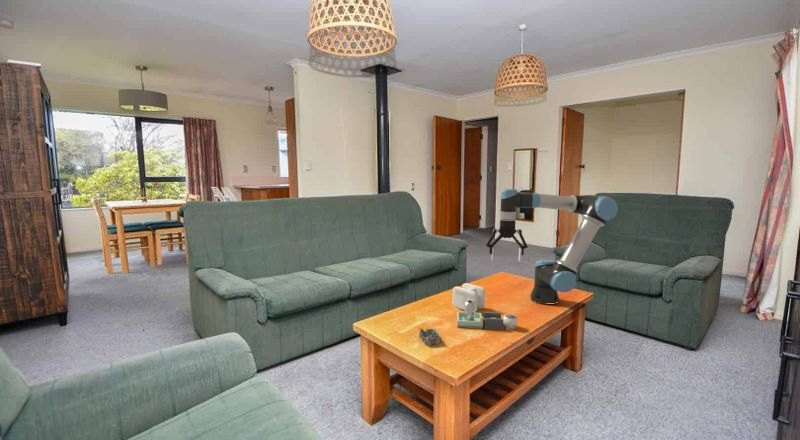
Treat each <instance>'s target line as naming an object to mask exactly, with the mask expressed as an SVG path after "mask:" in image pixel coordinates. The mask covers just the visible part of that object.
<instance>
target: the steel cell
mask: <svg viewBox="0 0 800 440" xmlns="http://www.w3.org/2000/svg"><path fill="white" fill-rule="evenodd" d="M474 311H475V302H474V301H471V300H468V301H465V310H464V312H465V318H464V321H474V313H475V312H474Z"/></svg>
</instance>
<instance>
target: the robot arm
mask: <svg viewBox="0 0 800 440" xmlns="http://www.w3.org/2000/svg"><path fill="white" fill-rule="evenodd" d="M522 208H523V209H536V208H541V209H550V210H558V211H559V210H560V211H567V212H568V213H572V214H577V215H581V219H582V220H581V223H579V225H578V227H577V229H576V231H575V233H574V235H573V236H572V238H571V240H570V241H569V243H568V245H567V247H566V248H565V250H564V253H563V254H562V255H561V258H559V259H558V260H554V259H553V260H552V259H551V260H550V259H538V260H536V261H535V265H534V281H533V282H534V283H533V284H534V285H533V288H532V290H531V293H530V297H529V299H530V298H531V299H530V300H531V301H532V300H533V301H536V302H540V303H556V302H558V301H559V302H560V296H559V293H563V294H564V293H568V292H570V291H573V289H574V288H575V286H576V285H577V274H578V270H577V268H578V266H579V264H580V262H581V260H582V259H583V258H584V255H585V253H586V252H587V250H588V248H589V246H590V244H591V243H592V241H593V239H594V238H595V236H596V234H597V232H598V230H599V229H600V228H601V227H605V225H606V224H607V222H608V221H611V220H613V219H614V218H616V216H617V214H618V210H619V208H618V205H617V202H616V201H615V199H613V198H611V197H609V196H605V195H595V194H594V195H593V194H585V195H583V194H582V195H580V194H579V195H577V194H574V195H573V194H572V195H569V196H567V195H555V194H548V193H547V194H545V193H538V192H525V191H518V190H517V189H515V188H503V189H502V190H501V194H500V211H499V212H500V215H499V216H500V217H499V218H500V221H499V227H498V229H497V228H493V229H492V233H491V235H490V237H489V238H488V240H487V242H486V244H485V246H486V247H487V248H489V254H490V255H491V258H490V259H491V260H490V261H491V262H494V254H495V252H494V250H495V248H494V247H495V246H496V244H497V243H499V241H500V240H501V239H502V238H503V239H511V238H512V239H513V240H514V241H515V243H516V244H517V245H518V246H519V248H518V262H519V263H522V256H523V255H524V254H525V253H524V252H525V251H524V250H525V249H528V247H529V246H528V244H527V242H526V240H525V238H524V236H523V231H522V230H523V229H521V228H519V229H516V219H517V218H516V216H517V214H516V213H517V209H522ZM498 233H499V235H498V236H497V237H496V238H495V236H496V235H497V234H498ZM516 233H517V235H518V236H519V238H520V240H521V242H522V243H521V242H520V241H519V240H518V238H516V236H515V234H516ZM494 238H495V239H494ZM493 239H494V240H493ZM533 301H532V302H533ZM536 302H535V303H536Z"/></svg>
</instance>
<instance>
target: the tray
mask: <svg viewBox="0 0 800 440" xmlns="http://www.w3.org/2000/svg"><path fill="white" fill-rule="evenodd" d="M464 318H465V311H456V325H457V328H467V329H482V330H483V327H484V319H483V317H482V312H474V321H464Z"/></svg>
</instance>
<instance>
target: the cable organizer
mask: <svg viewBox="0 0 800 440" xmlns="http://www.w3.org/2000/svg"><path fill="white" fill-rule="evenodd" d="M461 286H462V287H461ZM461 286H453V288H452V299H451V300H452V305H453V307H455V308H456V309H459V310H464V311H465V301H468V300H471V301H474V302H475V311H474V313H477V311H478V309H483V308H485V306H486V289H485V288H484V287H482V286H479V285H474V284H471V283H467V282H465V283H463V284H462V285H461Z"/></svg>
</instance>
